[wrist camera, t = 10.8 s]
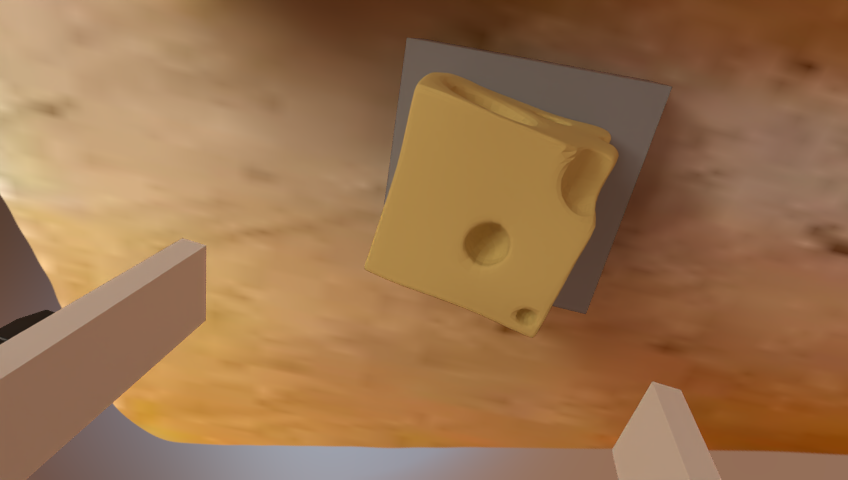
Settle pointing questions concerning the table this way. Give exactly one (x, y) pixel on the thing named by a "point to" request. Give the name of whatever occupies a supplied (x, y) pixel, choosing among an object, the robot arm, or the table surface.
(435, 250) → the cheese
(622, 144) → the charcoal block
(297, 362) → the table surface
